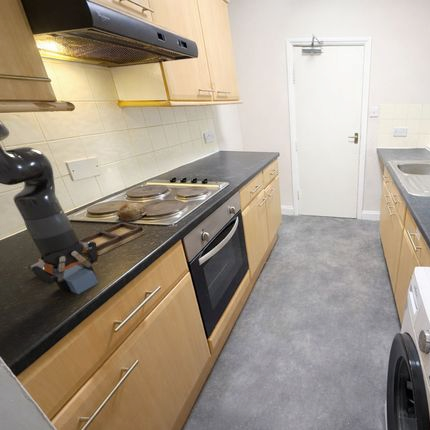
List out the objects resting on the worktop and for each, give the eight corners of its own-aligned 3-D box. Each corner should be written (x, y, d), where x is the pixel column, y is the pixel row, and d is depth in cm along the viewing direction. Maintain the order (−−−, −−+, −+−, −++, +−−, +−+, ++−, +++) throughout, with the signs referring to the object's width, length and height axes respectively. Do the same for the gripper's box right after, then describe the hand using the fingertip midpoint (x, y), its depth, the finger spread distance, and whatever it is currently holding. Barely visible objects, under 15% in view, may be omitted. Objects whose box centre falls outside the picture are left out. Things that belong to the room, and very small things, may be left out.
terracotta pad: (58, 277, 77) (52, 265, 75) (44, 270, 80) (37, 259, 78) (78, 267, 81) (73, 256, 79) (64, 261, 84) (58, 251, 82)
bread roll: (136, 229, 111) (139, 213, 108) (110, 220, 109) (112, 204, 106) (149, 219, 120) (152, 204, 117) (125, 211, 118) (127, 195, 115)
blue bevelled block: (77, 294, 70) (71, 282, 68) (61, 286, 73) (54, 275, 71) (98, 283, 74) (93, 271, 72) (82, 276, 77) (76, 264, 75)
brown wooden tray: (98, 255, 87) (95, 248, 86) (76, 247, 92) (73, 240, 91) (145, 233, 100) (143, 227, 99) (123, 227, 105) (121, 221, 104)
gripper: (76, 216, 73) (99, 266, 81) (5, 240, 62) (39, 297, 69) (92, 220, 71) (115, 272, 78) (20, 247, 59) (54, 305, 66)
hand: (79, 283), depth 73 cm, fingers closed on blue bevelled block, 5 cm apart
